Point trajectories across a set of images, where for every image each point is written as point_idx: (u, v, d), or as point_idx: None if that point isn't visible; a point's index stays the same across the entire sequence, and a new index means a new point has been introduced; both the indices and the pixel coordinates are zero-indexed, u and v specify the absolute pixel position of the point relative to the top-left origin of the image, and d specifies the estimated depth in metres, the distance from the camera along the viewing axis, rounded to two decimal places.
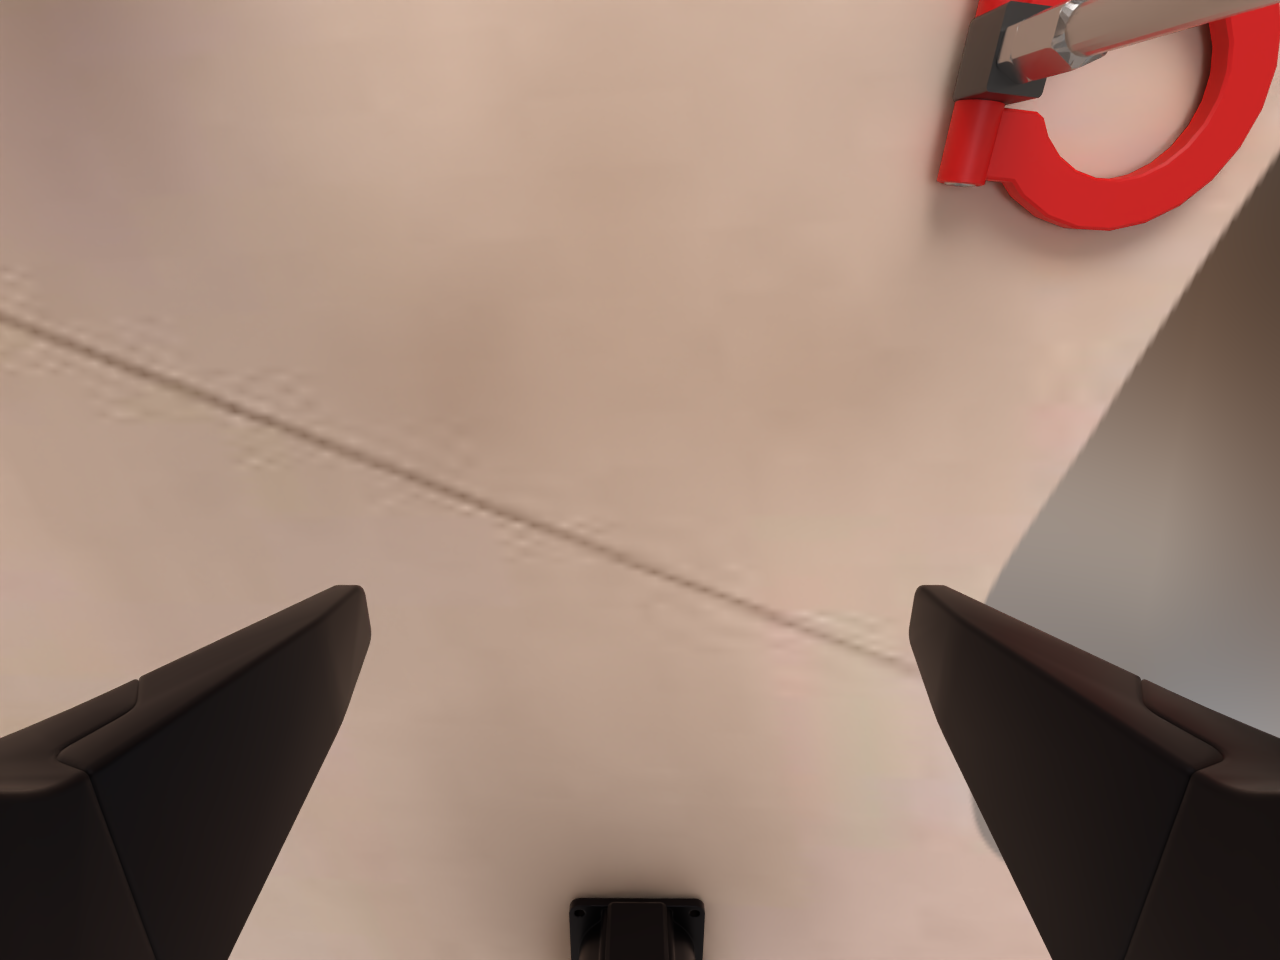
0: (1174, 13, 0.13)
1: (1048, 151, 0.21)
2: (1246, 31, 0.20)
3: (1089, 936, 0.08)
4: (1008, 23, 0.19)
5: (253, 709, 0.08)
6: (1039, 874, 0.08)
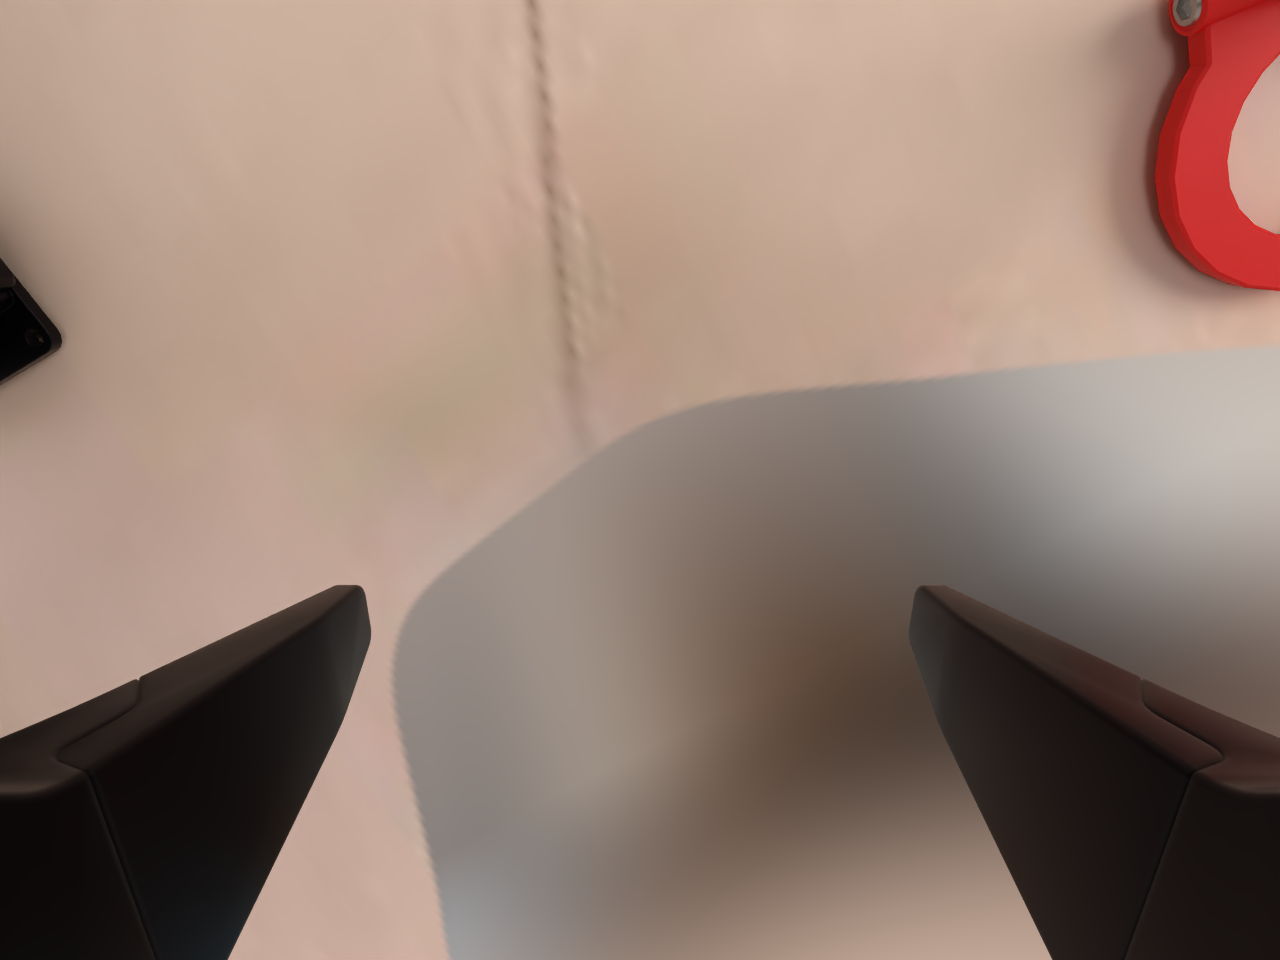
0: None
1: (1247, 83, 0.18)
2: None
3: (1089, 937, 0.08)
4: None
5: (253, 709, 0.08)
6: (1040, 874, 0.08)
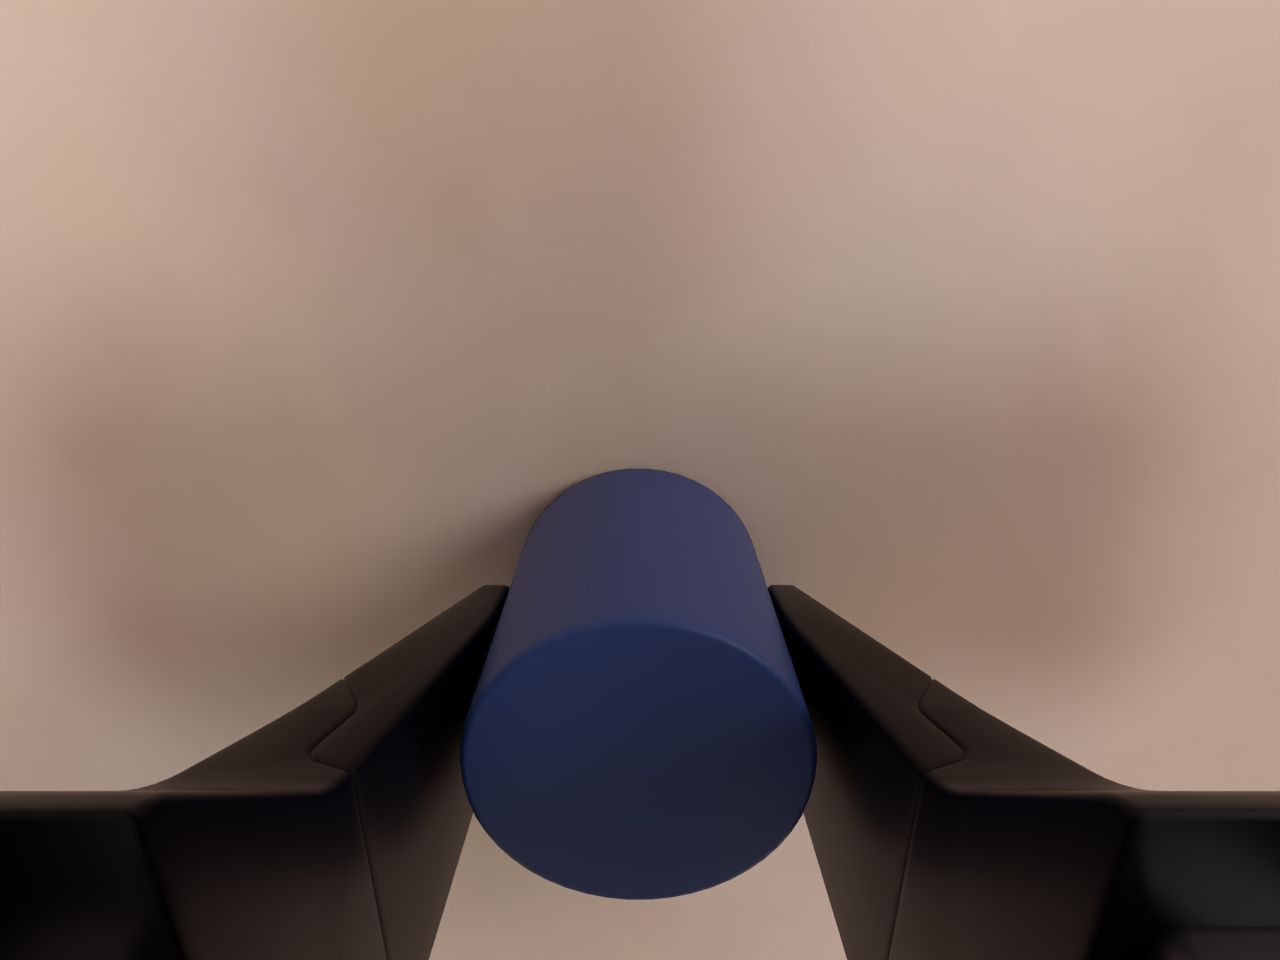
0: None
1: None
2: None
3: (867, 936, 0.08)
4: None
5: (449, 709, 0.08)
6: (838, 874, 0.08)
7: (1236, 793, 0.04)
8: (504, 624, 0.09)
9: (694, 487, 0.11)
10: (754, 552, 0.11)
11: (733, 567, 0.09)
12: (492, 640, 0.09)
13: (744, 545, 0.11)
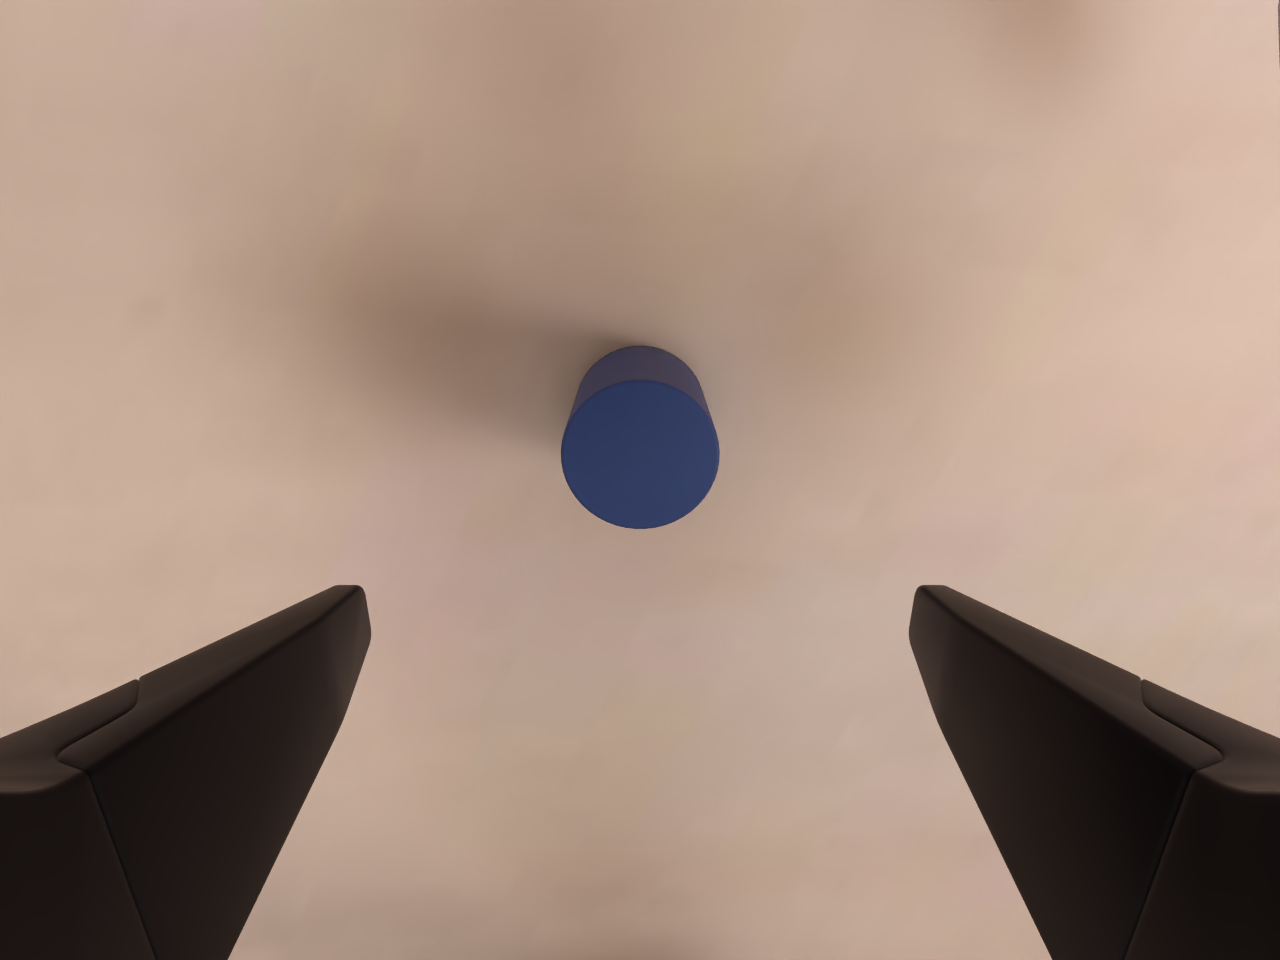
0: None
1: None
2: None
3: (1089, 936, 0.08)
4: None
5: (253, 709, 0.08)
6: (1040, 874, 0.08)
7: None
8: (577, 401, 0.19)
9: (669, 354, 0.22)
10: (700, 388, 0.22)
11: (685, 379, 0.20)
12: None
13: (694, 380, 0.21)
